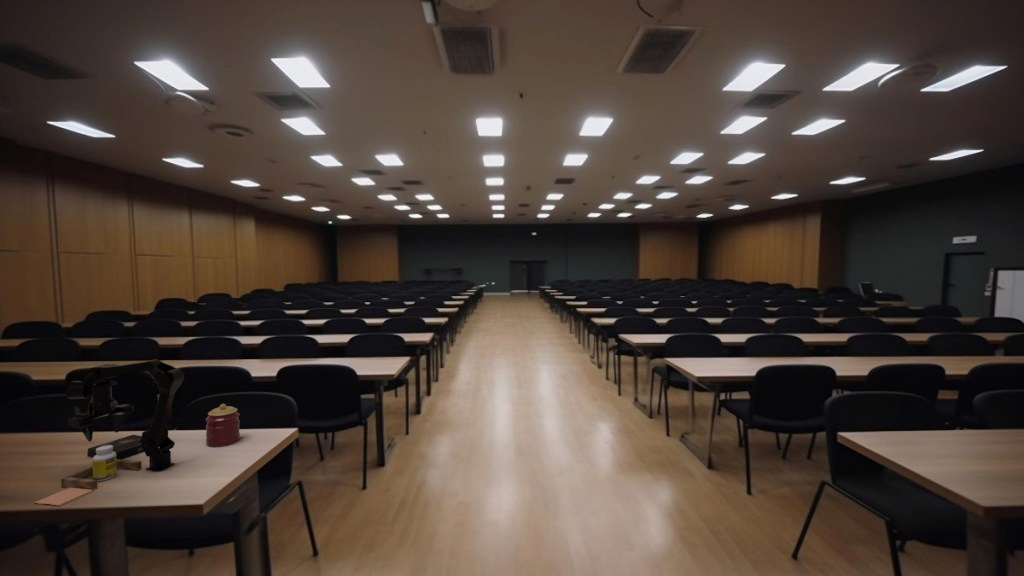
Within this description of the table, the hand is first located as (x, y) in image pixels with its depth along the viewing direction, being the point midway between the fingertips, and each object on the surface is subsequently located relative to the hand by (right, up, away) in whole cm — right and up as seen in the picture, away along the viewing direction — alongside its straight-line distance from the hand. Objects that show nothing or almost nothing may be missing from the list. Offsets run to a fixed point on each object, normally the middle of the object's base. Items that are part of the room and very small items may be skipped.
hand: (103, 436), depth 165 cm
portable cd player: (-8, -13, +18) cm, 24 cm away
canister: (+27, -13, +29) cm, 42 cm away
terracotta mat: (+6, -14, -20) cm, 25 cm away
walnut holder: (+6, -14, -6) cm, 16 cm away
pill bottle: (+6, -14, -6) cm, 16 cm away
